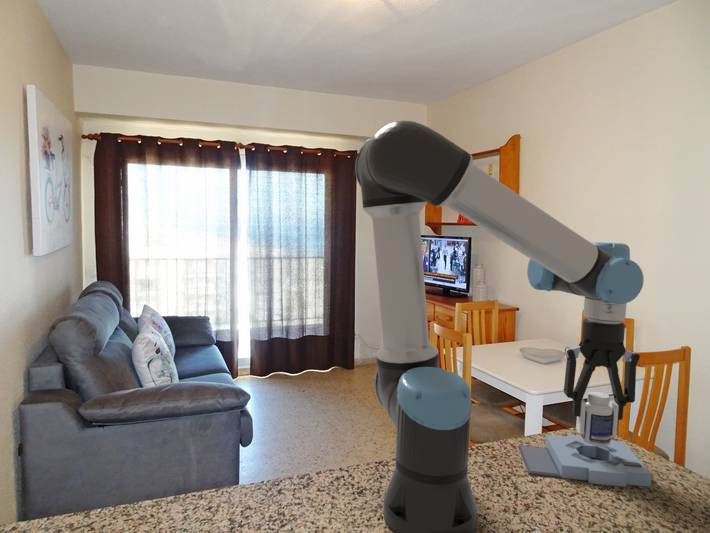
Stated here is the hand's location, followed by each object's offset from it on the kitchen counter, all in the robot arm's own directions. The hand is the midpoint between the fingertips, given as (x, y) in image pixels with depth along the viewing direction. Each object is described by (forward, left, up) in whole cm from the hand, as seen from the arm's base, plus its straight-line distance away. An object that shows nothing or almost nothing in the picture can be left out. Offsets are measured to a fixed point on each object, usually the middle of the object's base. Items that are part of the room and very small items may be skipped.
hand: (595, 432), depth 99 cm
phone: (-11, -1, -7) cm, 13 cm away
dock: (0, 0, -7) cm, 7 cm away
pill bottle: (0, 0, -2) cm, 2 cm away
